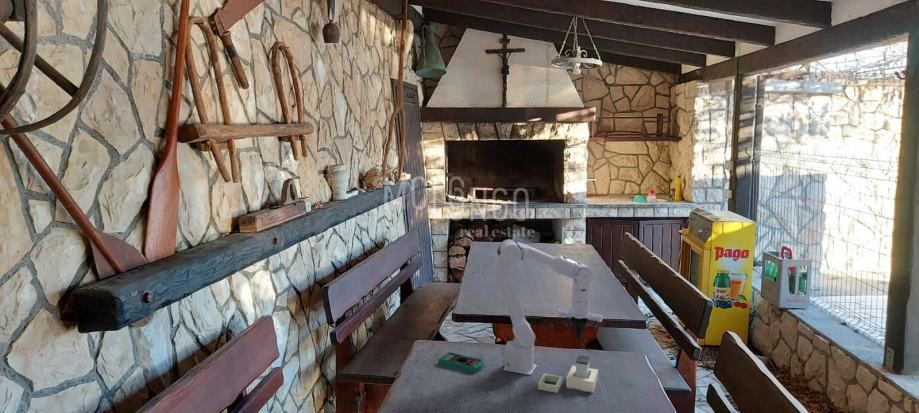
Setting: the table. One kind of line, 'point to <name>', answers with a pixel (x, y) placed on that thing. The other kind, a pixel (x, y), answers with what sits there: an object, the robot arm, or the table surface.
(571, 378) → the frame
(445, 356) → the digital multimeter
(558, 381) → the pale green rectangular frame
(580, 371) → the plug
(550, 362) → the table surface
